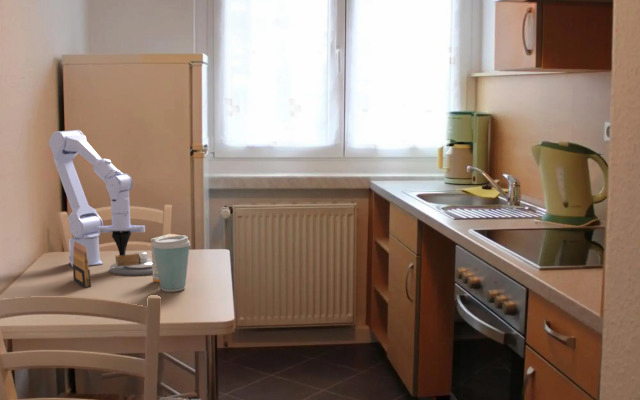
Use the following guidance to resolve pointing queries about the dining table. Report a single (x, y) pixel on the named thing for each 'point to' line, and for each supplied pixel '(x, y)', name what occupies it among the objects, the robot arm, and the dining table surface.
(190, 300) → the dining table surface
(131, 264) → the dial
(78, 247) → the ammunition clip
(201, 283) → the dining table surface
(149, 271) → the dial base
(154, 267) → the supplement box
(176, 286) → the disposable coffee cup
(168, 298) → the dining table surface
